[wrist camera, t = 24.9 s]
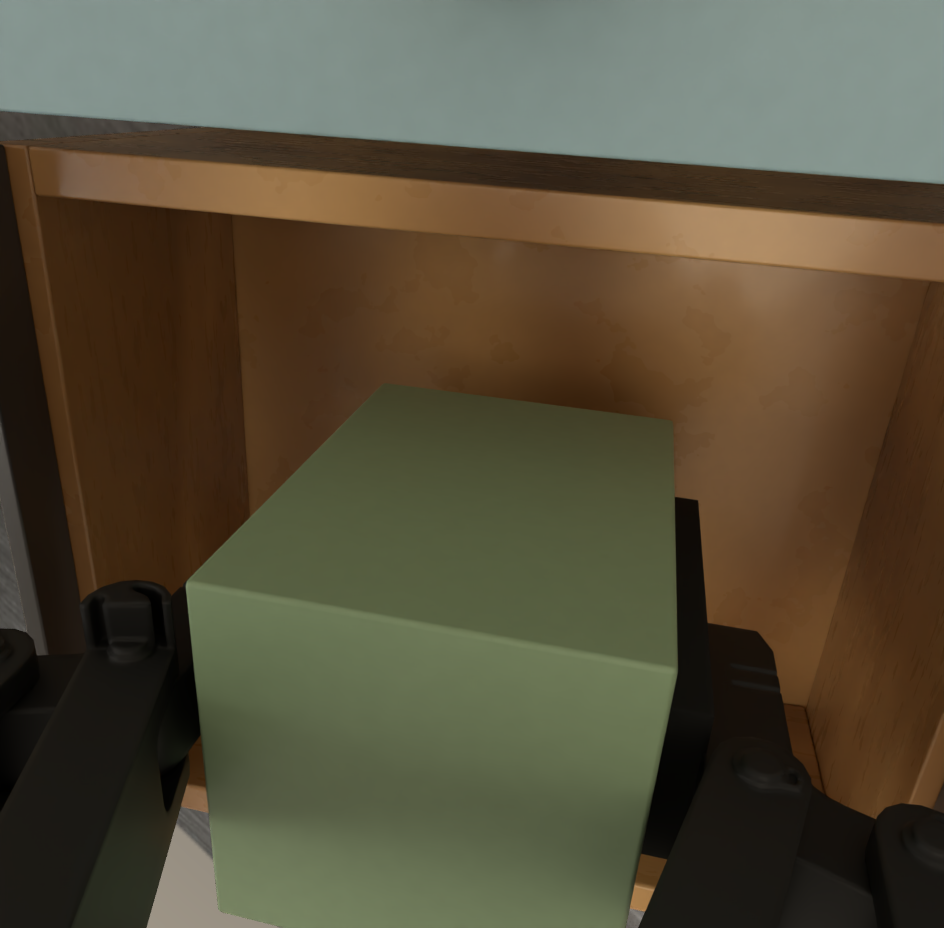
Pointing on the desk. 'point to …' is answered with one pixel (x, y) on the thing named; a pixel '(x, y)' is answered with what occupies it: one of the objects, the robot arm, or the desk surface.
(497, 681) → the block
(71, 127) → the desk surface
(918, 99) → the slide top
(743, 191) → the case
